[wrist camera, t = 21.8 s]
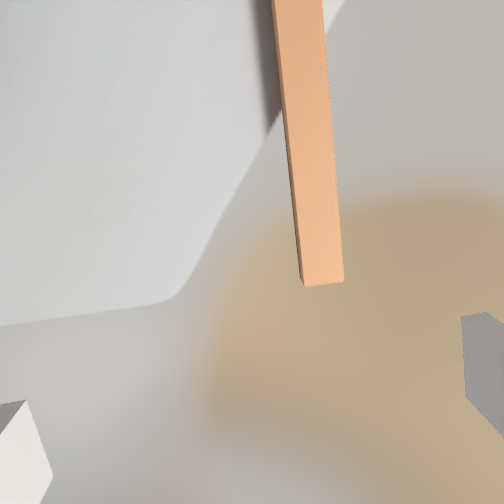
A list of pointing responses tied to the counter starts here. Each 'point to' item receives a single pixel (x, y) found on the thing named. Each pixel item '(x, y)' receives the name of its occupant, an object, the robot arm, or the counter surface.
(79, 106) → the counter surface
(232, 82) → the counter surface
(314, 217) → the slat
